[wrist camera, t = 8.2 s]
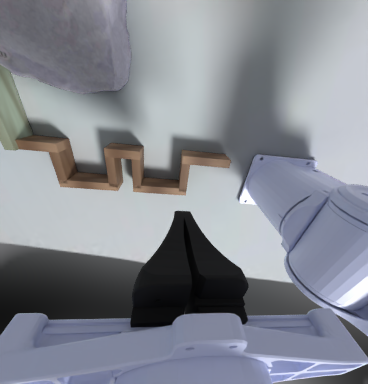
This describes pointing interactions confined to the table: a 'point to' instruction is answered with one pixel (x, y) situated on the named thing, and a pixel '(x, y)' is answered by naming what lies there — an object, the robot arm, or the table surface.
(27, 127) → the trap lane
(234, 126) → the table surface
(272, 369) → the robot arm
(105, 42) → the stone block
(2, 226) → the table surface
